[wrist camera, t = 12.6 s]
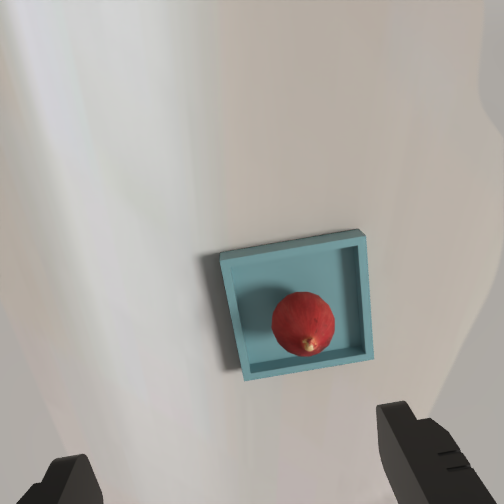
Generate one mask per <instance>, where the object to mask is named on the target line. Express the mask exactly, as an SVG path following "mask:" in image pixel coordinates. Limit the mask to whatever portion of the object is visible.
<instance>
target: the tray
mask: <svg viewBox="0 0 504 504" xmlns="http://www.w3.org/2000/svg"><path fill="white" fill-rule="evenodd" d="M220 265H221V270H222V275H223V280H224V285H225V290H226V295H227V299H228V304H229V309H230V314H231V319H232V324H233V329H234V334H235V339H236V343H237V348H238V353H239V358H240V363H241V368H242V373H243V378H244V381H249V380H255V379H261V378H266V377H272V376H278V375H284V374H290V373H296V372H302V371H308V370H314V369H320V368H325V367H331V366H337V365H343V364H349V363H355V362H361V361H367V360H373V359H374V351H373V336H372V321H371V305H370V290H369V274H368V259H367V244H366V235H365V234H364V233H363V232H362V231H360V230H359V229H355V230H349V231H343V232H337V233H331V234H325V235H320V236H314V237H308V238H302V239H296V240H290V241H285V242H279V243H273V244H267V245H261V246H255V247H249V248H244V249H238V250H232V251H226V252H220ZM294 292H311V293H314V294H316V295H319V296H320V297H321V298H322V299H323V300H324V301H325V302H326V303H327V304H328V305H329V306H330V309H331V311H332V313H333V316H334V318H335V332H334V335H333V337H332V340H331V342H330V344H329V346H328V347H326V348H325V349H324V350H323V351H322V352H321V353H319V354H316V355H313V356H310V357H300V356H297V355H294V354H291V353H289V352H287V351H286V350H285V349H284V348H283V347H282V346H280V345H279V343H278V342H277V340H276V338H275V336H274V334H273V331H272V328H271V325H272V315H273V311H274V310H275V308H276V306H277V304H278V303H279V302H280V301H281V300H283V299H284V298H285V297H286V296H287V295H289V294H292V293H294Z"/></svg>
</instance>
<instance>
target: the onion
mask: <svg viewBox="0 0 504 504" xmlns="http://www.w3.org/2000/svg"><path fill="white" fill-rule="evenodd" d="M271 328H272V331H273V334H274V336H275V338H276V340H277V342H278V343H279V345H280V346H282V347H283V348H284V349H285V350H286V351H287V352H289V353H291V354H294V355H297V356H300V357H310V356H313V355H316V354H319V353H321V352H322V351H323V350H324V349H325V348H326V347H328V346H329V344H330V342H331V340H332V337H333V335H334V332H335V318H334V316H333V313H332V311H331V309H330V306H329V305H328V304H327V303H326V302H325V301H324V300H323V299H322V298H321V297H320V296H319V295H316V294H314V293H311V292H294V293H292V294H289V295H287V296H286V297H285V298H284V299H283V300H281V301H280V302H279V303H278V304H277V306H276V308H275V310H274V311H273V315H272V325H271Z"/></svg>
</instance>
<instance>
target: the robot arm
mask: <svg viewBox="0 0 504 504" xmlns="http://www.w3.org/2000/svg"><path fill="white" fill-rule="evenodd" d="M376 415H377V430H378V445H379V453H380V457H381V461H382V465H383V468H384V471H385V473H386V476H387V478H388V480H389V483H390V485H391V487H392V490H393V492H394V494H395V497H396V499H397V501H398V504H497V503H496V502H495V500H494V499H493V497H492V496H491V494H490V493H489V491H488V490H487V489H486V487H485V485H484V484H483V482H482V481H481V480H480V478H479V477H478V475H477V474H476V472H475V471H474V469H473V468H471V466H470V463H469V462H468V460H467V459H466V457H465V456H464V454H463V453H461V451H460V448H459V447H458V445H457V444H456V442H455V441H454V439H453V438H452V436H451V435H450V433H449V432H448V431H447V430H445V429H444V428H443V427H442V426H440V425H439V424H438V423H436V422H435V421H434V420H432V419H431V418H427V419H421V420H417V419H416V417H415V415H414V414H413V412H412V410H411V409H410V407H409V405H408V404H407V403H406V402H405V401H399V402H393V403H387V404H381V405H377V407H376ZM16 504H103V495H102V492H101V489H100V487H99V484H98V482H97V479H96V477H95V474H94V472H93V469H92V467H91V464H90V462H89V459H88V457H87V456H86V455H85V454H79V455H73V456H68V457H62V458H56V459H55V460H53V461H52V463H51V464H50V466H49V468H48V470H47V472H46V474H45V476H44V478H43V480H42V482H41V483H35V484H33V485H32V486H31V487H30V489H29V490H28V491H27V492H26V493H25V494H24V496H22V498H21V499H20V500H19V501H18V502H17V503H16Z"/></svg>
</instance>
